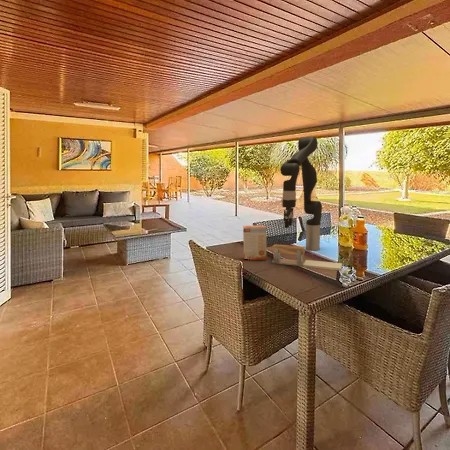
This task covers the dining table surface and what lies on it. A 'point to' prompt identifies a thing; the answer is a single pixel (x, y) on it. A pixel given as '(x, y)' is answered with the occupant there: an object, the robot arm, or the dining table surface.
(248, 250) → the cracker box
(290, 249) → the rail
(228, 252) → the dining table surface
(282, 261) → the standards
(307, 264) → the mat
